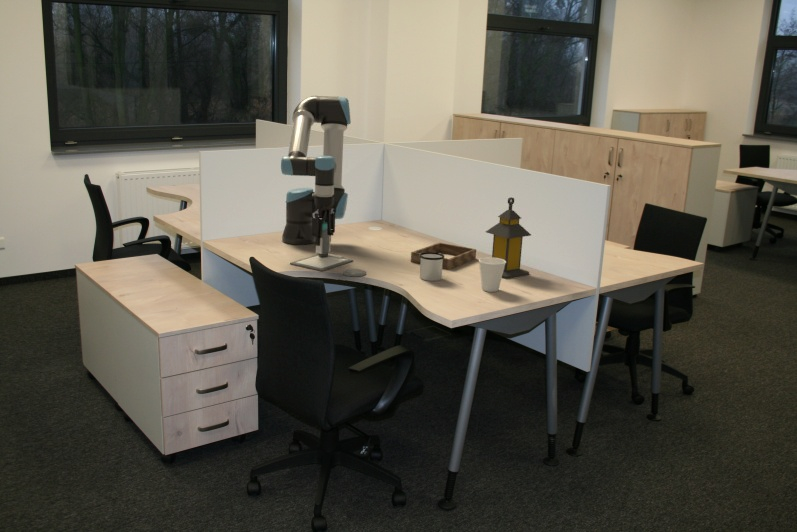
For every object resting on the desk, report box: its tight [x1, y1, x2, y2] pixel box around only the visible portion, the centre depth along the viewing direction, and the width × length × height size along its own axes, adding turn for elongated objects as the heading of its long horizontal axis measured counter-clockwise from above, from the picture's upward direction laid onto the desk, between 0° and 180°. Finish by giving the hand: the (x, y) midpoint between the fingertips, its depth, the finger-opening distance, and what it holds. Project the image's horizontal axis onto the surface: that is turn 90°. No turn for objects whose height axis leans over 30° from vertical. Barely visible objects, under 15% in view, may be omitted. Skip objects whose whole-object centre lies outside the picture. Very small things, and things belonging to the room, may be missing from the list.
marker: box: [317, 222, 329, 258], centre depth 302 cm, size 4×4×14 cm
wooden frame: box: [410, 242, 477, 270], centre depth 310 cm, size 23×18×4 cm
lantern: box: [485, 197, 532, 280], centre depth 292 cm, size 14×14×30 cm
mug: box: [419, 252, 445, 282], centre depth 283 cm, size 12×10×9 cm
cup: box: [478, 256, 506, 293], centre depth 270 cm, size 10×10×11 cm
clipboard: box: [289, 253, 354, 272], centre depth 298 cm, size 20×16×1 cm
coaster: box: [342, 268, 367, 278], centre depth 285 cm, size 9×9×1 cm
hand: (323, 251), depth 303 cm, fingers closed on marker, 5 cm apart
